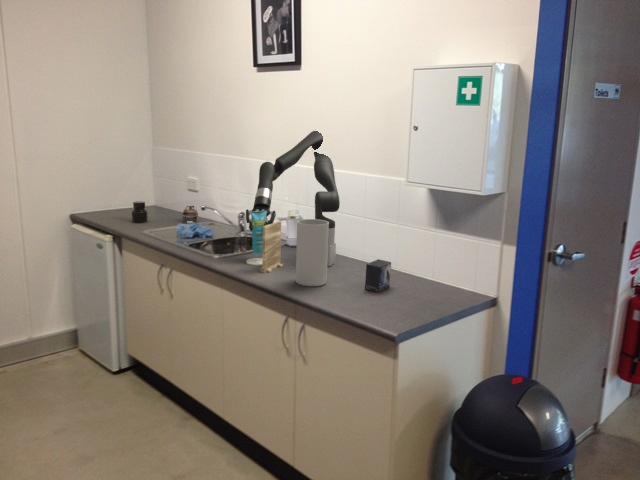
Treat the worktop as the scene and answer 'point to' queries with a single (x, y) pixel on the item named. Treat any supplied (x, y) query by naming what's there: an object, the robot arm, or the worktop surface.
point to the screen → (271, 247)
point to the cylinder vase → (312, 252)
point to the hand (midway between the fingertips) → (257, 230)
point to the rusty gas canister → (190, 214)
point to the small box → (377, 275)
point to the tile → (255, 261)
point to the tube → (258, 230)
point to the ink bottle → (139, 212)
